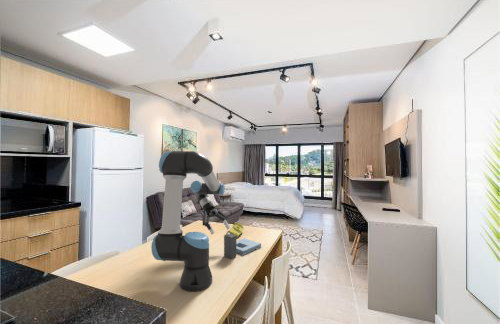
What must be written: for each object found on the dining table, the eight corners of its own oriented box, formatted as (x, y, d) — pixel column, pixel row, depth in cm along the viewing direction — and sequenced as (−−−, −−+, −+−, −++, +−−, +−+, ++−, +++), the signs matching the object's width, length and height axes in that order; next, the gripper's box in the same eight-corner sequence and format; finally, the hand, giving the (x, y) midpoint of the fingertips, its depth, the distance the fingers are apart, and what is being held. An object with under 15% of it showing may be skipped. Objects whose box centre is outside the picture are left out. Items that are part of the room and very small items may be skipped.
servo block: (231, 258, 132) (231, 235, 133) (224, 256, 137) (224, 233, 137) (236, 256, 136) (236, 234, 136) (229, 253, 140) (229, 232, 140)
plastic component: (238, 235, 168) (227, 229, 170) (234, 243, 170) (223, 237, 172) (245, 227, 187) (235, 221, 189) (241, 234, 189) (231, 228, 191)
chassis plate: (243, 255, 138) (243, 251, 138) (226, 248, 149) (226, 244, 149) (261, 247, 152) (261, 243, 152) (244, 241, 162) (244, 238, 162)
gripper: (218, 205, 164) (231, 229, 154) (189, 211, 145) (203, 238, 135) (222, 199, 160) (237, 223, 150) (194, 204, 142) (208, 232, 132)
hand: (221, 231), depth 143 cm, fingers open, 13 cm apart
